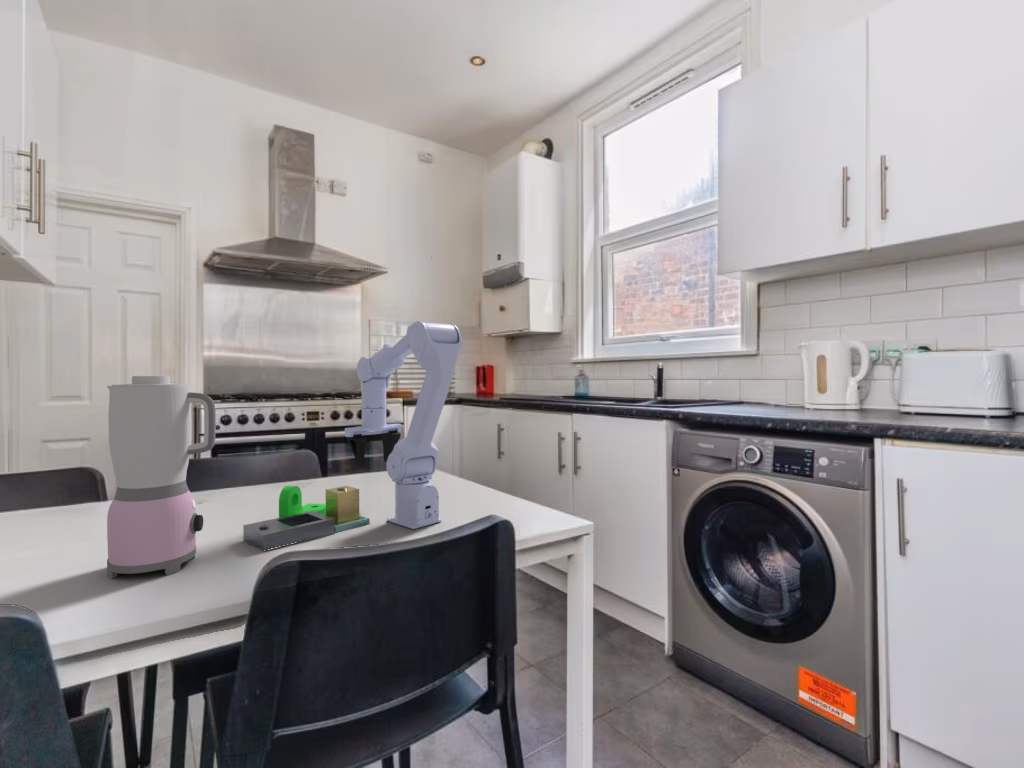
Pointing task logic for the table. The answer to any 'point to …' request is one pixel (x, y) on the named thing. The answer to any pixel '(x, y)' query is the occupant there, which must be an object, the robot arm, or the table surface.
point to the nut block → (342, 504)
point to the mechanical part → (296, 503)
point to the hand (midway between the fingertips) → (374, 464)
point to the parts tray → (352, 524)
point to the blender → (153, 474)
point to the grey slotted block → (288, 530)
